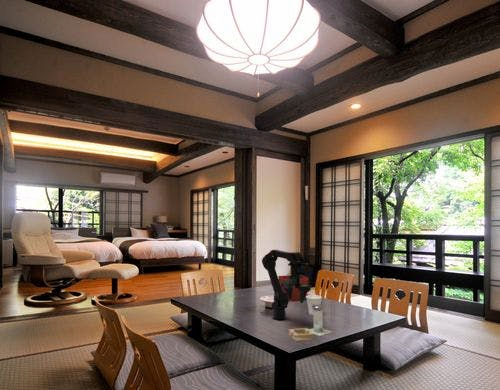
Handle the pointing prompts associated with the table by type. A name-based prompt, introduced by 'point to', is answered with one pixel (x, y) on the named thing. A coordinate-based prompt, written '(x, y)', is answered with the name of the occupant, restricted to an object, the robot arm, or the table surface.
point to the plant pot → (295, 290)
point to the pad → (321, 332)
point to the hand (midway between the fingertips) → (295, 301)
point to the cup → (313, 302)
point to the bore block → (301, 334)
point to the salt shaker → (318, 318)
